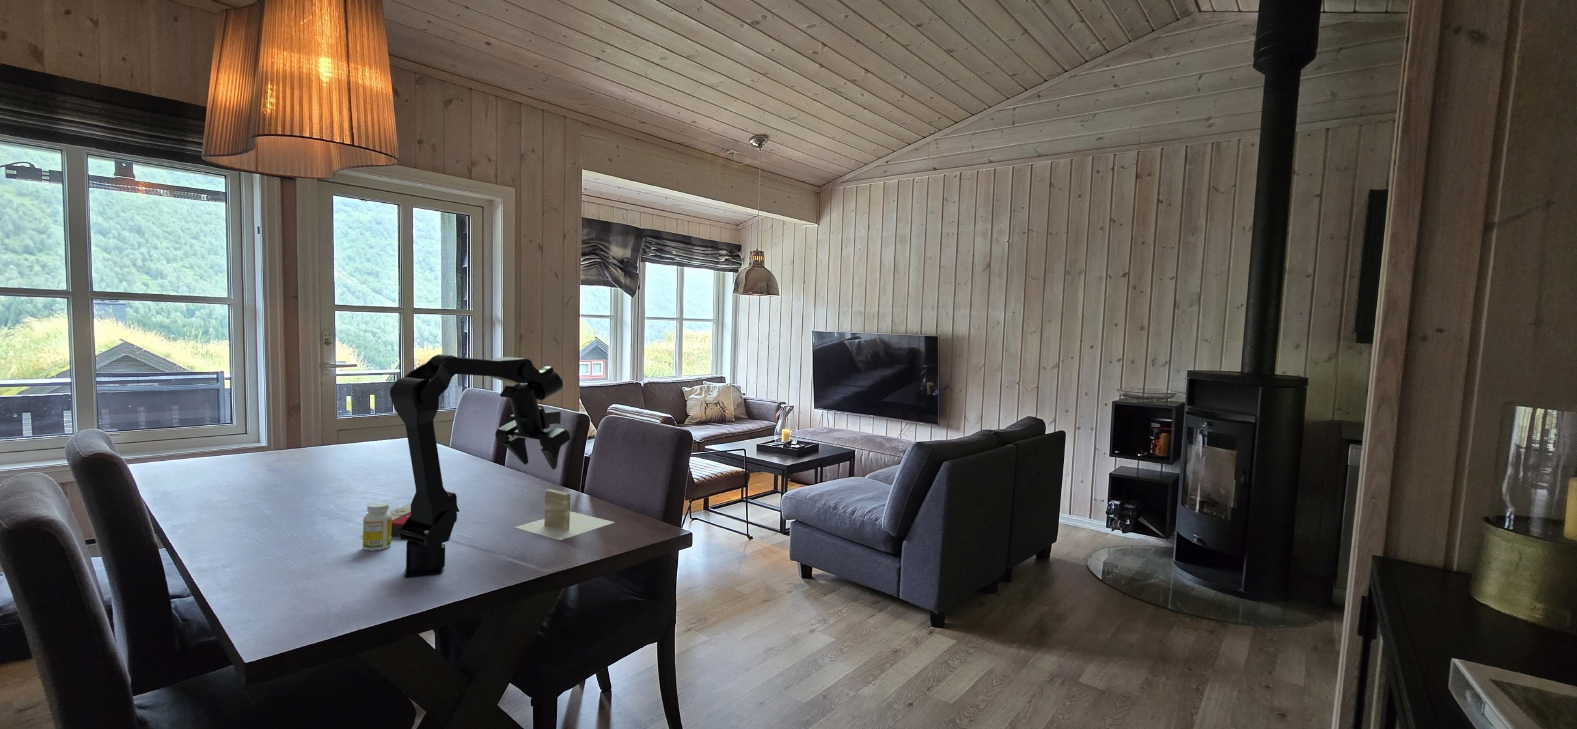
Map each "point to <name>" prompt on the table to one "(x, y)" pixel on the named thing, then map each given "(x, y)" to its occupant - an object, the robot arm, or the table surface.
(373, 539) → the supplement bottle
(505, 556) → the table surface
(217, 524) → the table surface
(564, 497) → the tile
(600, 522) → the mat
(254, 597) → the table surface
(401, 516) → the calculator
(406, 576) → the robot arm
